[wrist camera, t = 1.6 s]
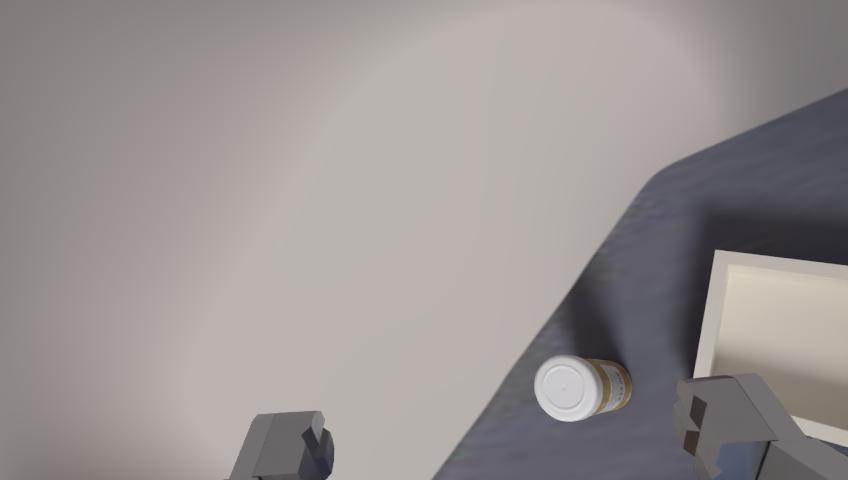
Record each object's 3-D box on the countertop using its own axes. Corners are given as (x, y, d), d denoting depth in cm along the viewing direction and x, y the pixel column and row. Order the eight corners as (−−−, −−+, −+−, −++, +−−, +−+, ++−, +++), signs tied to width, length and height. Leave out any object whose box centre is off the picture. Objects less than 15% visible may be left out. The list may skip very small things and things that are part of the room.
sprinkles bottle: (589, 353, 46) (541, 345, 35) (639, 370, 43) (604, 367, 32) (577, 399, 45) (524, 406, 35) (626, 419, 43) (586, 433, 32)
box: (908, 287, 35) (930, 275, 31) (888, 454, 33) (908, 464, 29) (718, 262, 42) (715, 249, 38) (694, 399, 40) (689, 401, 36)
